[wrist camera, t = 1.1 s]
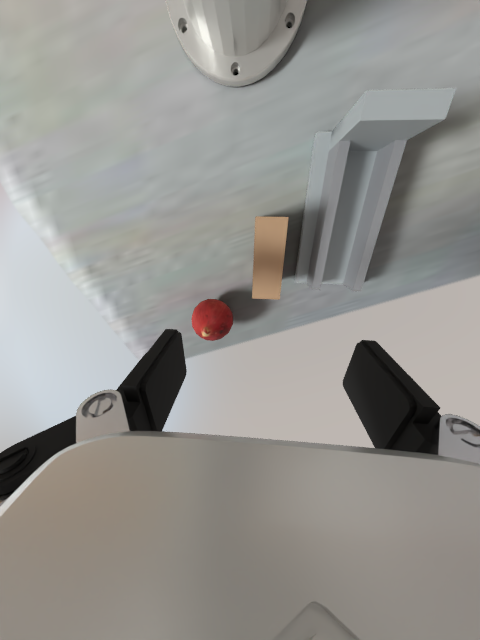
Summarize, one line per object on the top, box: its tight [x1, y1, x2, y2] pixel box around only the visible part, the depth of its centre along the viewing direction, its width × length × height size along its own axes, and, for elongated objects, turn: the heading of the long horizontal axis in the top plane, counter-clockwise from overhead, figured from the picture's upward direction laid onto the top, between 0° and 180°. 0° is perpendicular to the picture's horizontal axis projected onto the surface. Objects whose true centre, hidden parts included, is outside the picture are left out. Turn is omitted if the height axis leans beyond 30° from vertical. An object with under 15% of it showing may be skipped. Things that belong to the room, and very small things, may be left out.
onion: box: [192, 299, 233, 341], centre depth 28 cm, size 6×6×8 cm
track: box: [294, 88, 456, 291], centre depth 21 cm, size 16×9×8 cm, turn 179°
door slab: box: [252, 217, 289, 299], centre depth 23 cm, size 8×3×8 cm, turn 179°
